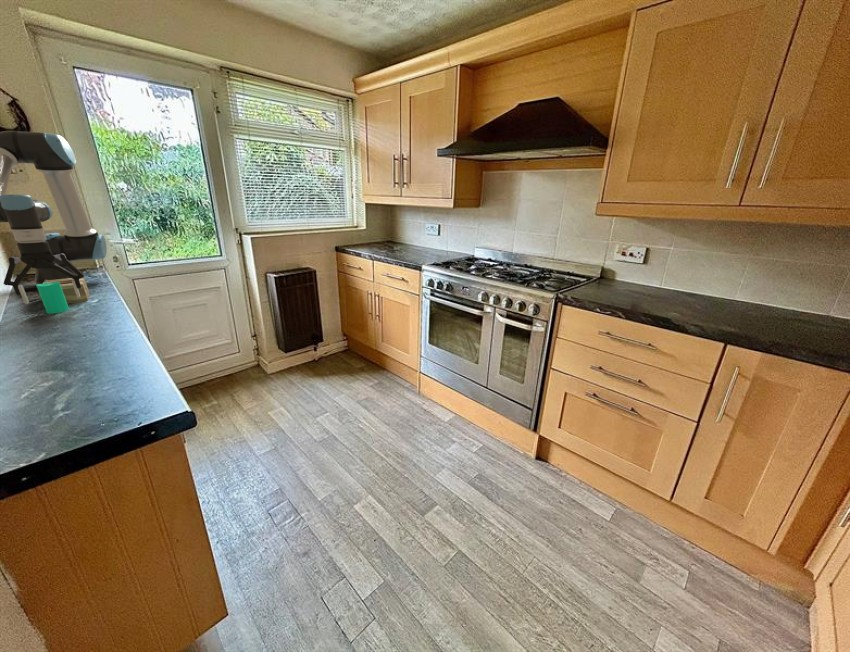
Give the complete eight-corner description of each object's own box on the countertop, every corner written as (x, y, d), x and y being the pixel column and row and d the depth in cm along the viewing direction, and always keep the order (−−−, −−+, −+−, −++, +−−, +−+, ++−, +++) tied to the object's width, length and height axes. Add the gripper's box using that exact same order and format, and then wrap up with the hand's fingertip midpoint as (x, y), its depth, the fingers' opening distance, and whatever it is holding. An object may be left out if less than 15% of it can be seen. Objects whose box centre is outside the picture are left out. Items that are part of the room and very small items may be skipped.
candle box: (50, 296, 147) (44, 280, 144) (89, 292, 154) (83, 276, 152) (46, 306, 135) (39, 288, 133) (87, 300, 143) (82, 284, 140)
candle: (73, 308, 133) (62, 278, 129) (56, 313, 128) (44, 281, 124) (59, 308, 134) (48, 277, 130) (42, 313, 128) (29, 281, 124)
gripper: (-27, 245, 111) (0, 308, 119) (80, 240, 127) (98, 296, 134) (-21, 242, 117) (5, 303, 124) (81, 238, 132) (98, 292, 139)
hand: (53, 300), depth 129 cm, fingers open, 13 cm apart
